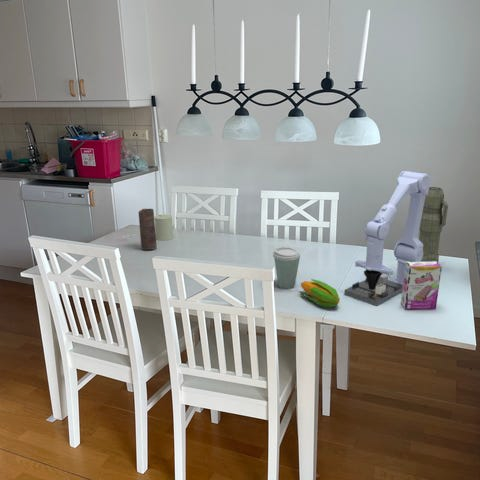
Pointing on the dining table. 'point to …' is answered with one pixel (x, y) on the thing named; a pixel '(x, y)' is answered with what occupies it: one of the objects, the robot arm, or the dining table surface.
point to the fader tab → (380, 289)
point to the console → (373, 292)
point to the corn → (321, 293)
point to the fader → (383, 279)
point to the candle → (147, 229)
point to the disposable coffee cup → (286, 266)
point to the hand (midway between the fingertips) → (372, 288)
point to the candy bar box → (420, 285)
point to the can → (163, 227)
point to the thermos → (432, 223)
